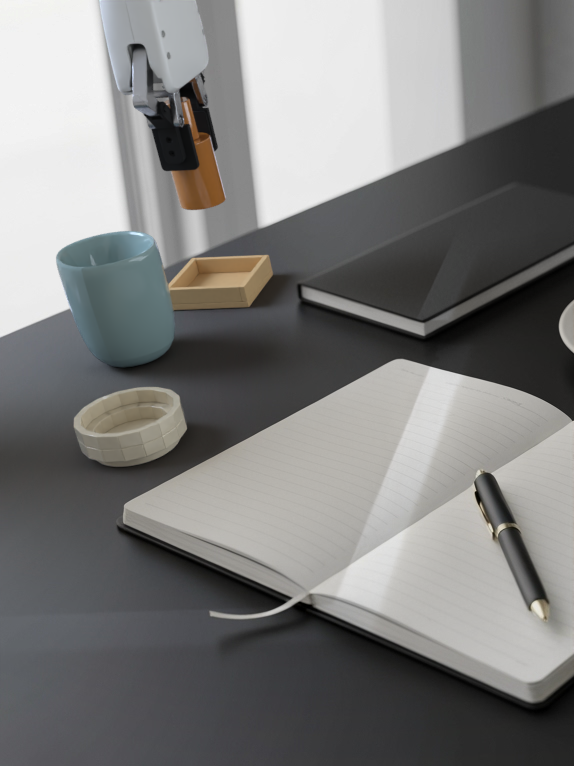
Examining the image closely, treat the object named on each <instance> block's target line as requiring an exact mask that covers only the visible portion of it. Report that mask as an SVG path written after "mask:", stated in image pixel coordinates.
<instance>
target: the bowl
mask: <svg viewBox="0 0 574 766" xmlns="http://www.w3.org/2000/svg"><path fill="white" fill-rule="evenodd" d="M184 410H185V409H184V407H183V404H182V400H181V396H180V395H179V394H177V393H176V392H175V391H174V390H173V389H170V388H164V387H160V386H141V387H139V386H138V387H132V388H128V389H123V390H118V391H115V392H112V393H109V394H107V395H104V396H101V397H98V398H97V399H95V400H93V401H92V402H90V403H88V404H87V405H85V406H83V407H82V408H81V409H80V410H79V412H78V413H77V414H76V415H75V416H74V417H73V430H74V432H75V436H76V438H77V442H78V445H79V448H80V451H81V453H82V454H83V455H85V456H86V457H87V458H88V459H90V460H93V461H96V462H98V463H99V464H101V465H103V466H106V467H115V468H123V467H124V468H125V467H132V466H138V465H142V464H146V463H149V462H152V461H155V460H156V459H159V458H161V457H163V456H165V455H166V454H168V453H170V452H171V451H172V450H174V449H175V448H176V446H177V445H178V444H179V442H180V440H181V438H182V437H183V436H184V434H185V433H186V431H187V430H188V423H187V418H186V413H185V411H184Z"/></svg>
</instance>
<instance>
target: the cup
mask: <svg viewBox="0 0 574 766" xmlns="http://www.w3.org/2000/svg"><path fill="white" fill-rule="evenodd" d="M157 243H158V242H157V241H156V239H155V238H154V237H153V236H152V235H150V234H149V233H145V232H142V231H138V230H121V231H119V230H118V231H113V232H105V233H101V234H97V235H92V236H88V237H85V238H82V239H79V240H76V241H74V242H71V243H69V244H66V246H64V247H62V248H61V249H60V250H59V251H58V252H57V253H56V255H55V263H56V268H57V271H58V276H59V279H60V281H61V286H62V288H63V292H64V295H65V297H66V301H67V304H68V308H69V310H70V312H71V315H72V318H73V320H74V323H75V325H76V328H77V330H78V333H79V335H80V337H81V338H82V341H83V342H84V344H85V346H86V347H87V349H88V351H89V352H90V353H91V354H92V356H94V357H95V358H96V359H97V360H99V362H101V363H103V364H105V365H107V366H111V367H115V368H132V367H133V368H134V367H138V366H142V365H146V364H148V363H151V362H153V361H155V360H157V359H160V358H161V357H163V356H164V355H165V354H166V353H167V352H169V350H170V348H171V347H172V345H173V343H174V339H175V334H176V318H175V310H173V304H172V299H171V295H170V290H169V286H168V284H169V282H168V279H167V274H166V271H165V267H164V263H163V260H162V256H161V252H160V249H159V246H158V244H157Z"/></svg>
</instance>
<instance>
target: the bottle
mask: <svg viewBox="0 0 574 766" xmlns="http://www.w3.org/2000/svg"><path fill="white" fill-rule="evenodd" d="M180 99H181V105H182V111H183V116H184V124H190V128H191V132H192V136H193V140H194V144H195V148H196V152H197V156H198V160H199V164H200V165H199V167H198V168H197V169H196V170H182V171H170V173H171V176H172V177H171V178H172V181H173V185H174V188H175V192H176V195H177V199H178V202H179V206H180V208H181V209H183V210H187V211H200V210H208V209H212V208H214V207H217V206H219V205H221V204H223V203H224V202H226V200H227V196H226V193H225V188H224V185H223V181H222V176H221V173H220V169H219V165H218V161H217V157H216V154H215V153H216V152H214V149H213V145H212V141H211V137H210V135H209V134H207V133H202V132H198V129H197V125H196V121H195V118H194V114H193V110H192V106H191V102H190V99H189V98H187V97H180ZM163 102H165V103H166V104H167V106H168V107H169V108H170V103H169V99H166V100H164V101H163Z"/></svg>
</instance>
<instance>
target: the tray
mask: <svg viewBox="0 0 574 766" xmlns="http://www.w3.org/2000/svg"><path fill="white" fill-rule="evenodd" d="M273 276H274V272H273V267H272V263H271V259H270V255H269V254H256V255H254V254H253V255H232V256H230V255H229V256H209V257H208V256H207V257H206V256H205V257H192V258H190V260H189V261H188V262H187V263H186V264H185V265H184V266H183V267H182V269H180V270H179V272H178V273H177V274H176V275H175V276H174V277H173V278H172V280H171V281H170V282H168V286H169V290H170V295H171V299H172V304H173V310H174V311H186V310H189V311H190V310H191V311H192V310H213V309H237V308H238V309H240V308H250V307H251V305H252V304H253V302H254V301H255V300H256V299H257V297H258V296H259V295H260V293H261V292H262V290H263V289H264V288H265V286H266V285H267V284H268V282H269V281H270V280H271V279H272V277H273Z"/></svg>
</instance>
